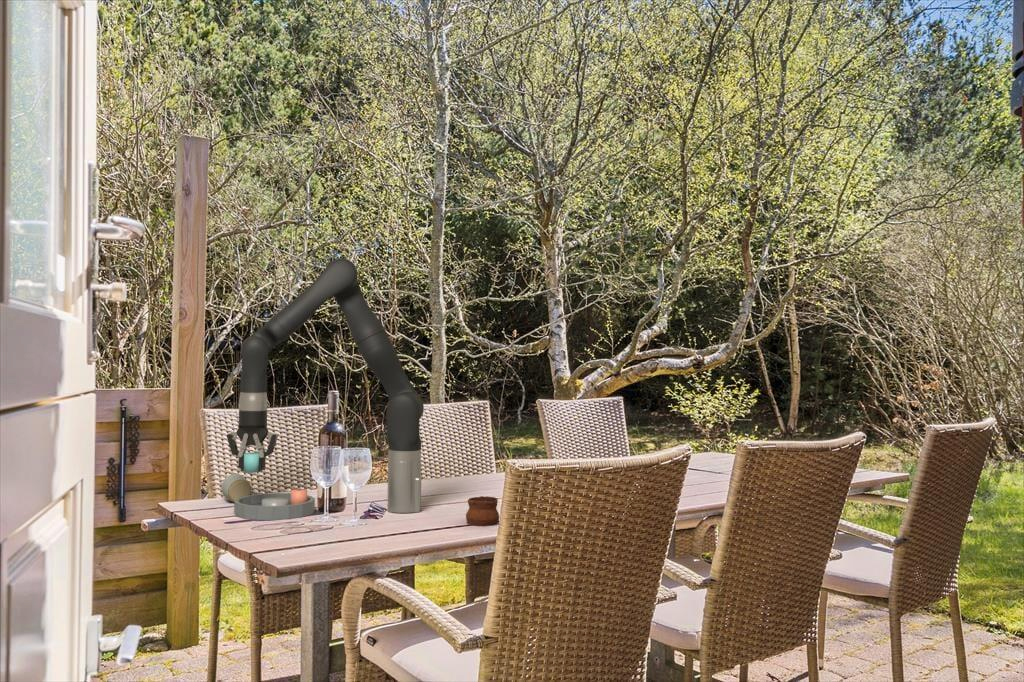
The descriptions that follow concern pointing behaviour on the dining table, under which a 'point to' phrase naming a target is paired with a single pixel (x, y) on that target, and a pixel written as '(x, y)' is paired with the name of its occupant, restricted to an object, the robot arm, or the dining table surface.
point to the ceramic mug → (236, 487)
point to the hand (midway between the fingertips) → (251, 470)
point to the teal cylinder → (251, 462)
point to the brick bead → (298, 496)
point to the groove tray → (272, 507)
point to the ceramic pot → (482, 511)
